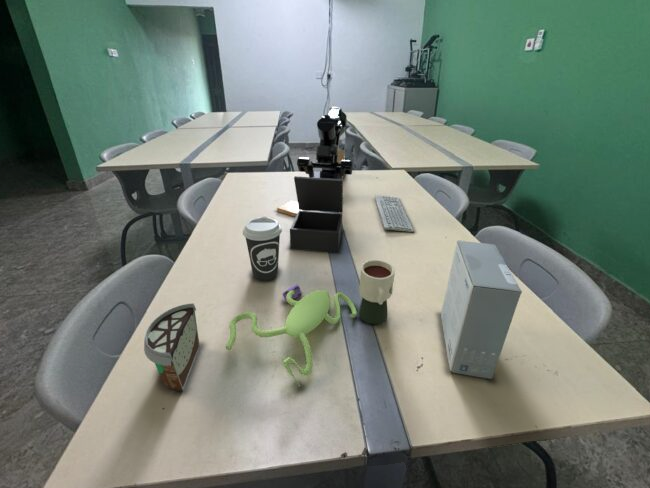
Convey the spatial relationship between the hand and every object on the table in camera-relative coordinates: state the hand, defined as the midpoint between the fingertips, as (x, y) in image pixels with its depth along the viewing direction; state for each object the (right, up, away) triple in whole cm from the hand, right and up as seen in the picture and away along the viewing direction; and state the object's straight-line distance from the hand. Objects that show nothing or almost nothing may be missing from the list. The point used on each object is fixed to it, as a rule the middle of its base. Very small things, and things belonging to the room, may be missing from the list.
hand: (322, 188), depth 106 cm
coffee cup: (-14, -24, -21) cm, 35 cm away
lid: (-1, -3, -7) cm, 7 cm away
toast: (-12, -7, +16) cm, 21 cm away
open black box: (-1, -17, -4) cm, 17 cm away
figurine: (-4, -33, -39) cm, 51 cm away
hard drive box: (+31, -35, -41) cm, 62 cm away
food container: (-25, -36, -48) cm, 65 cm away
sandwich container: (+5, +10, +57) cm, 58 cm away
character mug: (+13, -31, -34) cm, 48 cm away
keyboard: (+26, -9, +16) cm, 32 cm away
